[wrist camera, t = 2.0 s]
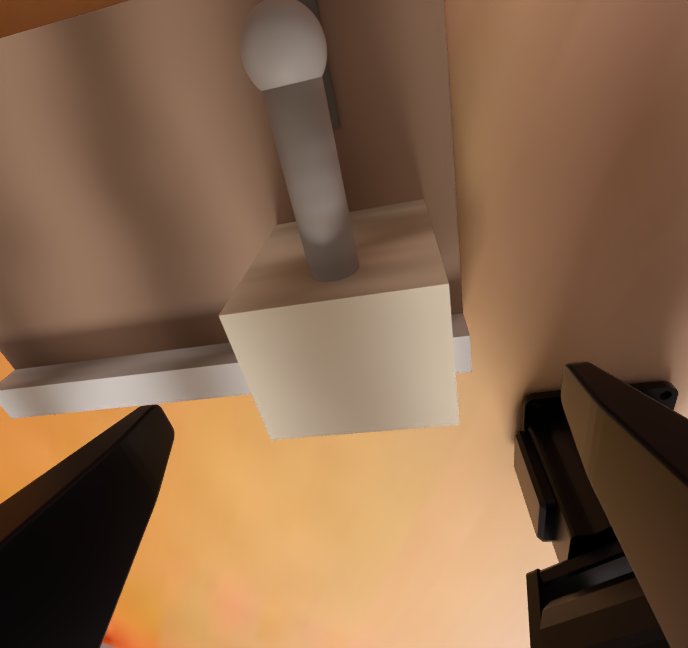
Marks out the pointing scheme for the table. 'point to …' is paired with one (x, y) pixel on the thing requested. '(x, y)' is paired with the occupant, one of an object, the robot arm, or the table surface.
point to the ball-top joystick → (335, 271)
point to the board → (187, 186)
